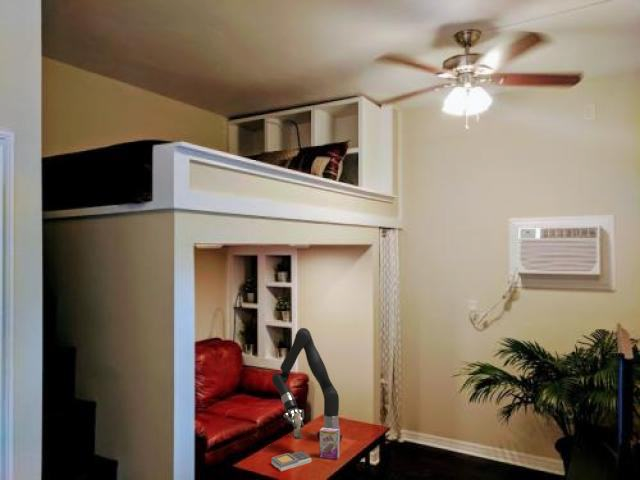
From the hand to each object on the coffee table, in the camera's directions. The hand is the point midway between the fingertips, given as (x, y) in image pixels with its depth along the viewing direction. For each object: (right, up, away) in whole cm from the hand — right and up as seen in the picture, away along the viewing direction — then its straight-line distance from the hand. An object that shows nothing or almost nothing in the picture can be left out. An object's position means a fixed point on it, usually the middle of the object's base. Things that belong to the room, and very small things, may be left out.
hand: (299, 427), depth 294 cm
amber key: (-8, -14, -14) cm, 21 cm away
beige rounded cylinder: (-1, -6, +2) cm, 7 cm away
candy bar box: (+18, -16, -5) cm, 24 cm away
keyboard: (-4, -16, -12) cm, 20 cm away
